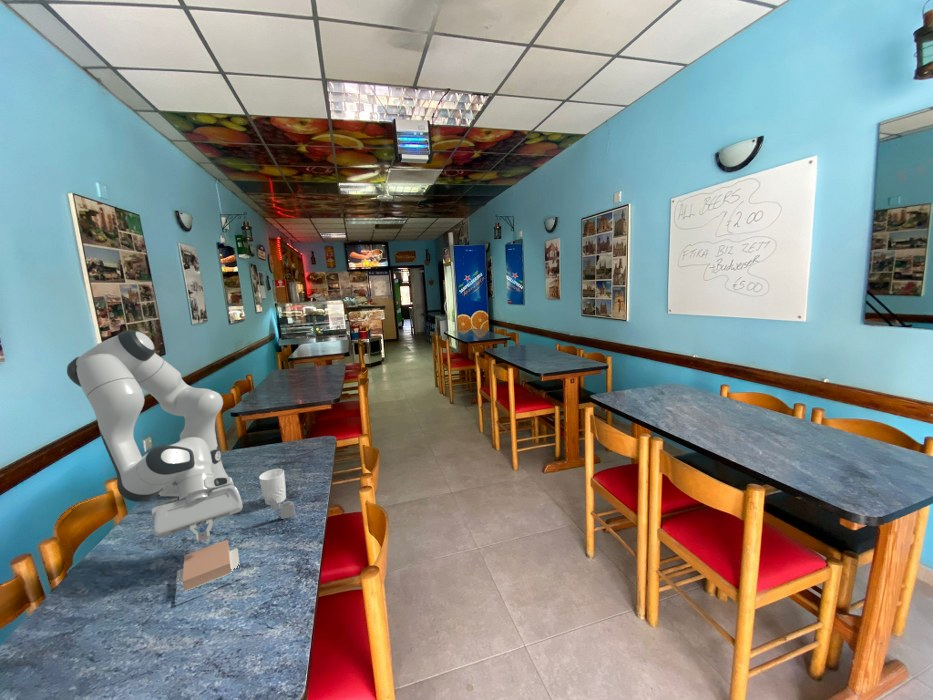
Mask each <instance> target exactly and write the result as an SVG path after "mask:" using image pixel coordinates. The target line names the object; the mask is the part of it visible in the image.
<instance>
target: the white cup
mask: <svg viewBox="0 0 933 700" xmlns="http://www.w3.org/2000/svg"><path fill="white" fill-rule="evenodd" d="M258 479H259V484H260V487H261V493H262V495H263V500H264V503H265V505H267V506H271V505H270V504H269V503H268V499H270V498H271V497H272V498H273V499H274V500H275V501H276V502H277V503H279V504H281V503H283V502H285V500H286V499H287V494H286V493H287V492H286V488H287V487H286V477H285V470H284V469H282V468H273V469H269V470H266V471H264V472H262V473H260V475H259V476H258Z"/></svg>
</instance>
